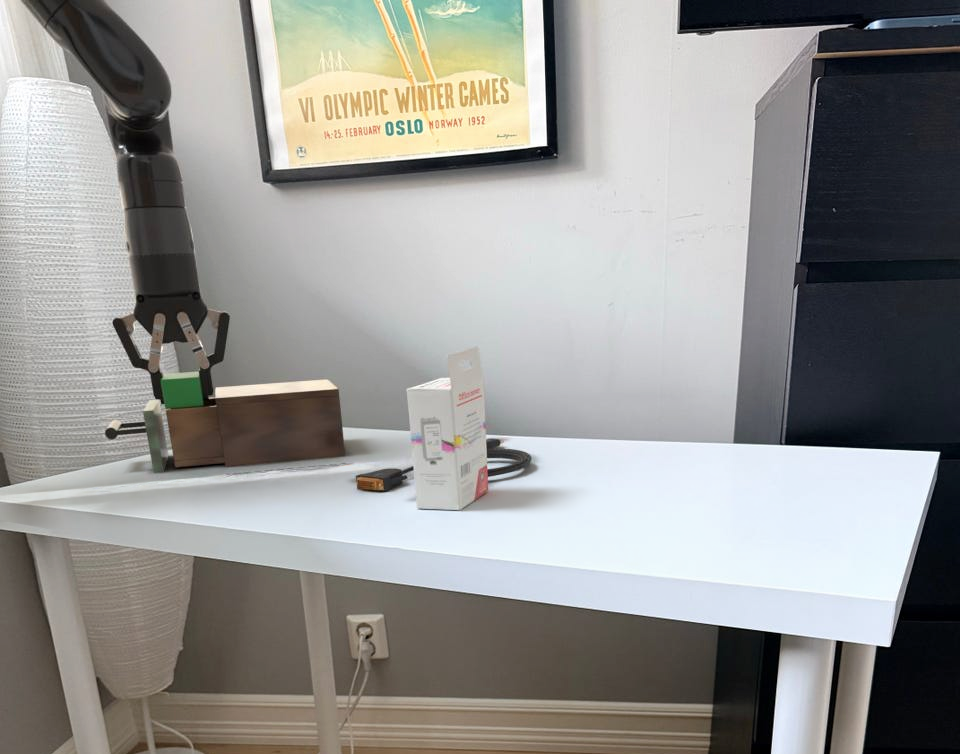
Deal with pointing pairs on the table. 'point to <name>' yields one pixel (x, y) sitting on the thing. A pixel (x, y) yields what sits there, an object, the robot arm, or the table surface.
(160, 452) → the drawer
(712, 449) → the table surface
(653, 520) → the table surface
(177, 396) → the green rectangular block
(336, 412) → the cabinet
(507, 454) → the cable
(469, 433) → the ink cartridge box
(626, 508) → the table surface
